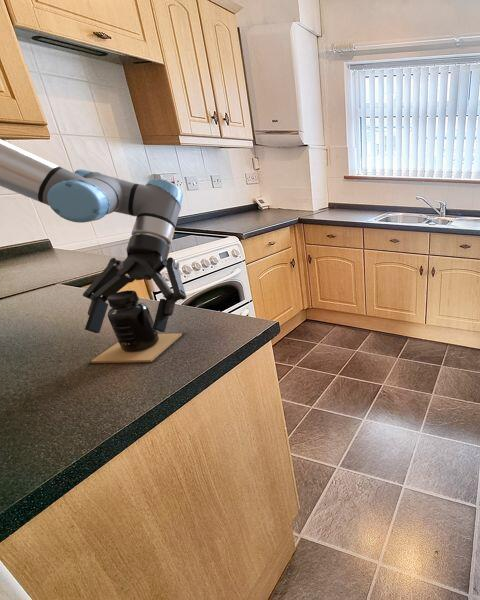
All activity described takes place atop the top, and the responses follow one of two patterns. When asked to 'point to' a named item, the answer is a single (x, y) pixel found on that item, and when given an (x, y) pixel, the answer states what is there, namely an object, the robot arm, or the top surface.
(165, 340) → the cork mat
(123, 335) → the supplement bottle
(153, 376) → the top surface
